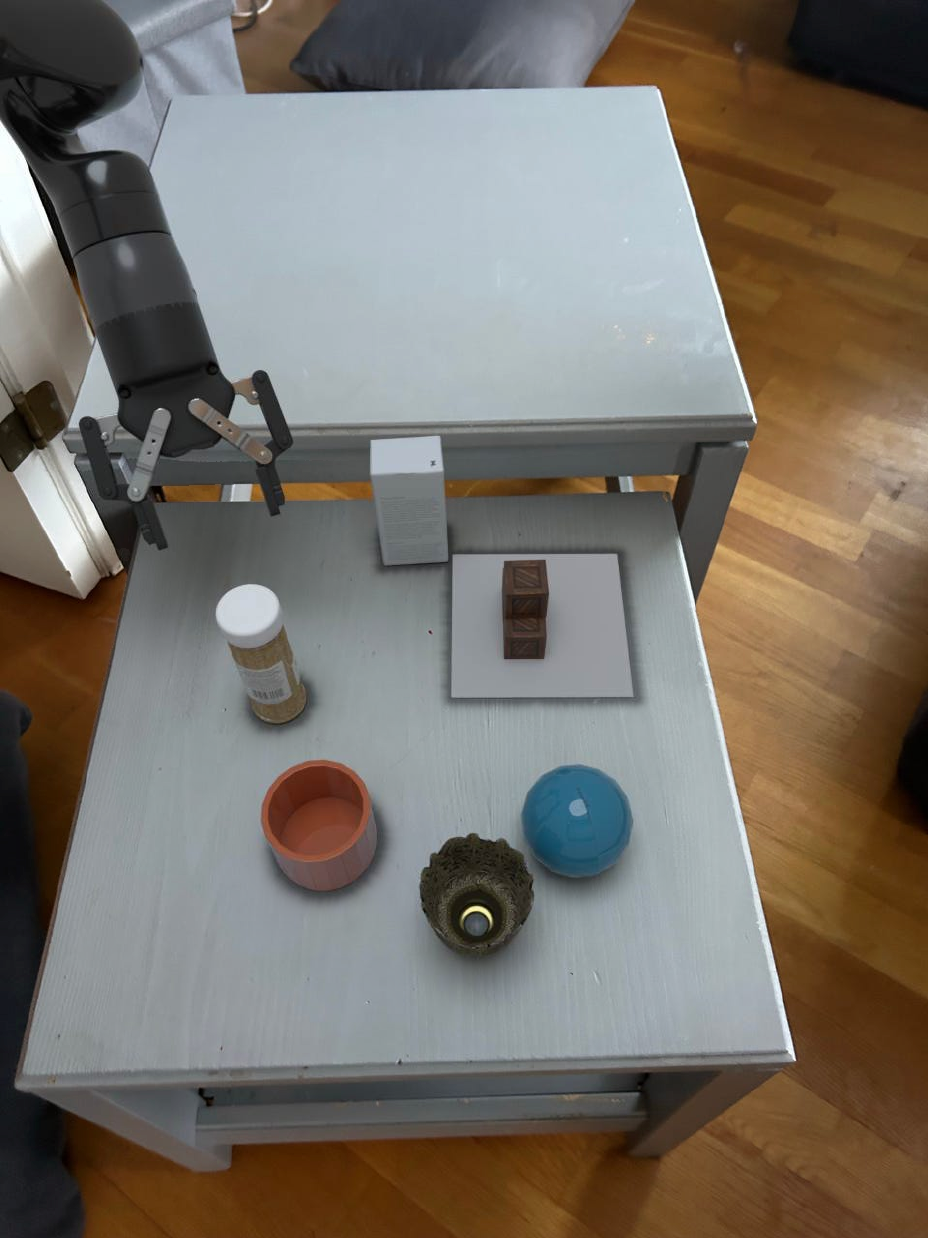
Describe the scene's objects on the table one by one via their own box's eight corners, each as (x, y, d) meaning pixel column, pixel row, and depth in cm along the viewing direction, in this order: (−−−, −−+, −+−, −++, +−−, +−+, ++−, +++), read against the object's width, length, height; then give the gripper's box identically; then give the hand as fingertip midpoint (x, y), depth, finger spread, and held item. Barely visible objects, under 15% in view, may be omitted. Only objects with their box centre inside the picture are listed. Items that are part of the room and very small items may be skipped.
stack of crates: (633, 697, 78) (646, 652, 72) (451, 697, 78) (449, 653, 72) (617, 554, 86) (627, 504, 81) (452, 554, 86) (451, 504, 81)
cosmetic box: (446, 527, 88) (442, 433, 78) (448, 563, 86) (445, 471, 76) (381, 530, 88) (369, 437, 78) (381, 567, 86) (369, 475, 76)
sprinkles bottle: (314, 684, 79) (288, 588, 68) (295, 731, 76) (264, 640, 65) (263, 672, 79) (229, 575, 68) (242, 718, 77) (203, 626, 66)
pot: (292, 907, 68) (278, 878, 63) (264, 815, 72) (248, 782, 67) (391, 868, 70) (385, 837, 65) (358, 780, 74) (350, 745, 69)
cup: (412, 963, 66) (405, 929, 59) (438, 863, 70) (435, 821, 63) (516, 990, 65) (521, 958, 58) (537, 887, 69) (544, 846, 62)
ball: (601, 779, 74) (613, 731, 67) (642, 875, 69) (660, 833, 63) (503, 808, 72) (506, 762, 66) (539, 908, 68) (546, 869, 61)
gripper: (35, 330, 62) (121, 565, 66) (245, 278, 65) (317, 505, 69) (52, 346, 69) (129, 557, 73) (241, 299, 72) (306, 503, 76)
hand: (220, 531), depth 71 cm, fingers open, 8 cm apart
